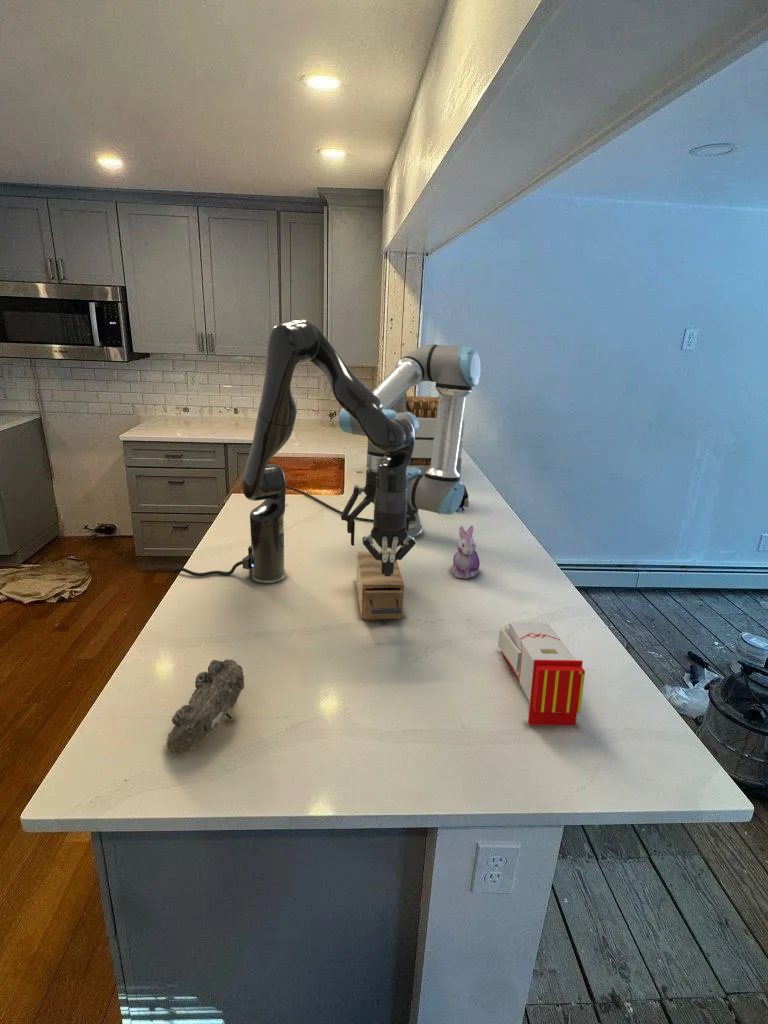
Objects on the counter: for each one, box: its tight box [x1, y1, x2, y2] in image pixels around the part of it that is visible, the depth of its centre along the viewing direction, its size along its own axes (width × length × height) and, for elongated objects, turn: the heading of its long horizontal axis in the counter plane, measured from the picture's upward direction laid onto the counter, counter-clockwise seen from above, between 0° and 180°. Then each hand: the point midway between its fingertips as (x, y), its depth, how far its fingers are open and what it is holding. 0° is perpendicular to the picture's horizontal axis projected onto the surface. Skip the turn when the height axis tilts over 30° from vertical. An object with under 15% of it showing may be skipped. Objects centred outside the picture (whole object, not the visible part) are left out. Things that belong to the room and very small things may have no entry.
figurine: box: [451, 524, 481, 580], centre depth 170 cm, size 9×10×15 cm
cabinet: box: [355, 550, 405, 619], centre depth 153 cm, size 20×11×10 cm, turn 6°
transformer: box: [390, 392, 465, 481], centre depth 268 cm, size 34×33×41 cm
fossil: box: [166, 658, 245, 754], centre depth 106 cm, size 22×10×15 cm
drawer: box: [363, 588, 404, 621], centre depth 148 cm, size 25×9×8 cm, turn 6°
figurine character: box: [455, 485, 470, 512], centre depth 229 cm, size 7×8×15 cm
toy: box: [497, 621, 586, 727], centre depth 121 cm, size 12×13×30 cm
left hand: (387, 574), depth 135 cm, fingers closed
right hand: (377, 543), depth 156 cm, fingers open, 13 cm apart
